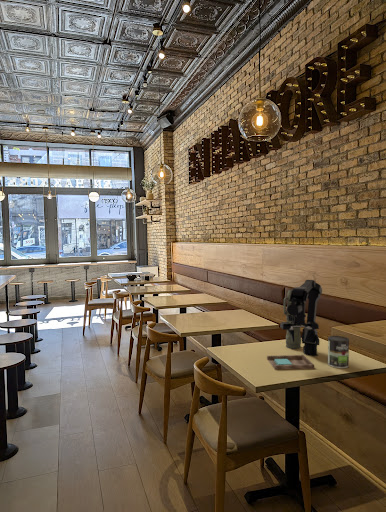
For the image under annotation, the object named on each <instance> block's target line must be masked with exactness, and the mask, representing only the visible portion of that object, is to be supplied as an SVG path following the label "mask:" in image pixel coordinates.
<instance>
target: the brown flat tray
mask: <svg viewBox="0 0 386 512" xmlns="http://www.w3.org/2000/svg"><path fill="white" fill-rule="evenodd" d="M274 359H288V360H289V361H290V362H291V363H292V365H277V364H276V363H275V361H274ZM266 360H267V361H268V363H269V364H270V365H271V366H272V368H273V369H274V370H306V369H307V370H311V369H312V370H314V369H315V364H314V363H313V362H311V361H310V360H309V359H308V358H307V357H306V356H305V354H287V355H286V354H285V355H266Z"/></svg>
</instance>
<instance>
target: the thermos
mask: <svg viewBox="0 0 386 512" xmlns="http://www.w3.org/2000/svg"><path fill="white" fill-rule="evenodd" d="M293 289H294V288H291V289H288V291H287V293H286V294H287V296H285V297H284V298H283V315H285V318H286V322H288V323H290V324H294V323H291V321H287V315H290V314H289V313H288V311H287V308H288V306H289V305H291V302H289V300H290V296H291V292H292V290H293ZM286 303H287V304H286ZM286 305H287V306H286ZM291 316H292V315H291ZM296 326H298V325H296ZM293 330H294V342H293V341H292V338H291V335H290V333H289V331H288V330H286V334H285V348H287V349H290V350H299V349H301V345H302V338H301V335H302V334H301V327H293Z"/></svg>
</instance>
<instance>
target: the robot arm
mask: <svg viewBox="0 0 386 512" xmlns="http://www.w3.org/2000/svg"><path fill="white" fill-rule="evenodd" d="M292 289H293V290H292V292H291V296H290V300H289V302H291V305H289V306H288V308H287V307H286V308H287V311H288V313H289V314H290V315H287V319H286V321H281V322H280V324H279V325H280V326H279V327H280V328H281V329H282V330H283V331H285V330H286V331H287V330H288V331H289V333H290V335H291V338H292V341H293V342H294V330H293V327H300V328H303V329H302V332H301V334H300V335H301V344H304V345H303V347H302V348H303V355H306V356H312V357H317V356H319V354H318V346H320V343H321V342H320V337H319V336H318V331H317V330H319V329H320V326H319V324H318V322H316V319H317V317H316V316H317V306H318V301H319V300H320V299H321V297H322V296H321V295H322V293H323V287H322V285H320V284H319V283H317V281H316V280H314V279H305V280H304V282H303V283H302V284H301V285H300V286H296V287H294V288H292ZM307 301H308V302H307ZM306 303H308V306H307V316H306ZM291 315H292V316H291ZM287 321H291V323H294V324H290V323H288V322H287ZM296 325H298V326H296Z"/></svg>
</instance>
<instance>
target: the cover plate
mask: <svg viewBox="0 0 386 512" xmlns="http://www.w3.org/2000/svg"><path fill="white" fill-rule="evenodd" d="M274 361H275V363H276V364H277V365H292V363H291V362H290V361H289V360H288V359H274Z"/></svg>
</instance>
